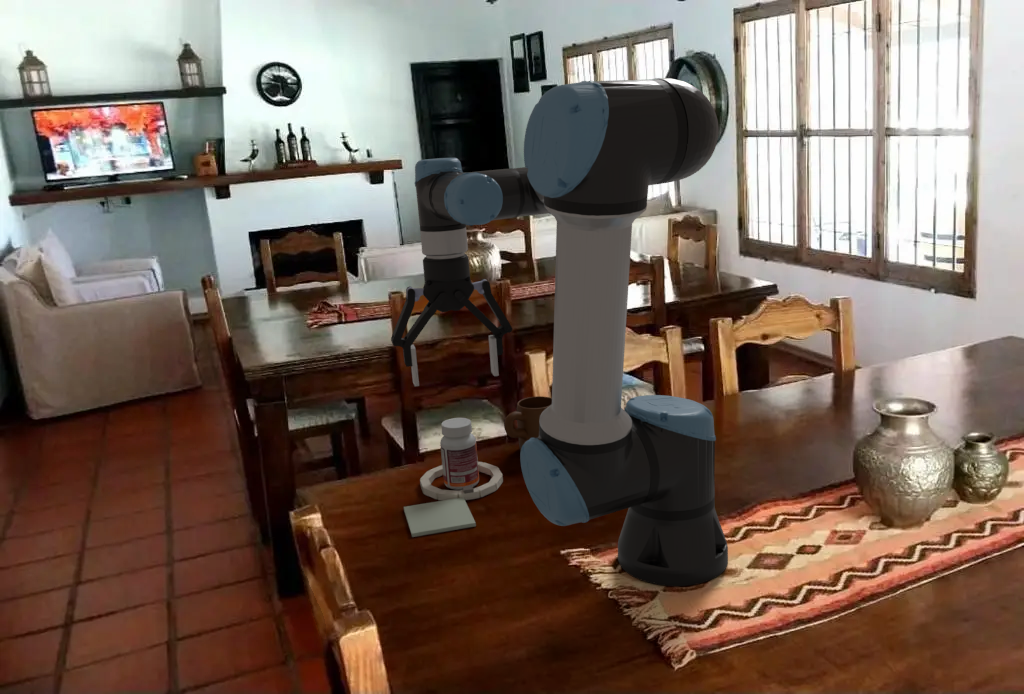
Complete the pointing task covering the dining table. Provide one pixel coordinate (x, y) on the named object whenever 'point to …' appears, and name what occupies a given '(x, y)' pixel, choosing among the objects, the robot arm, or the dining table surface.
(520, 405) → the mug
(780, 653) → the dining table surface
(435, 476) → the collar
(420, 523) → the coaster
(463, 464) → the pill bottle
